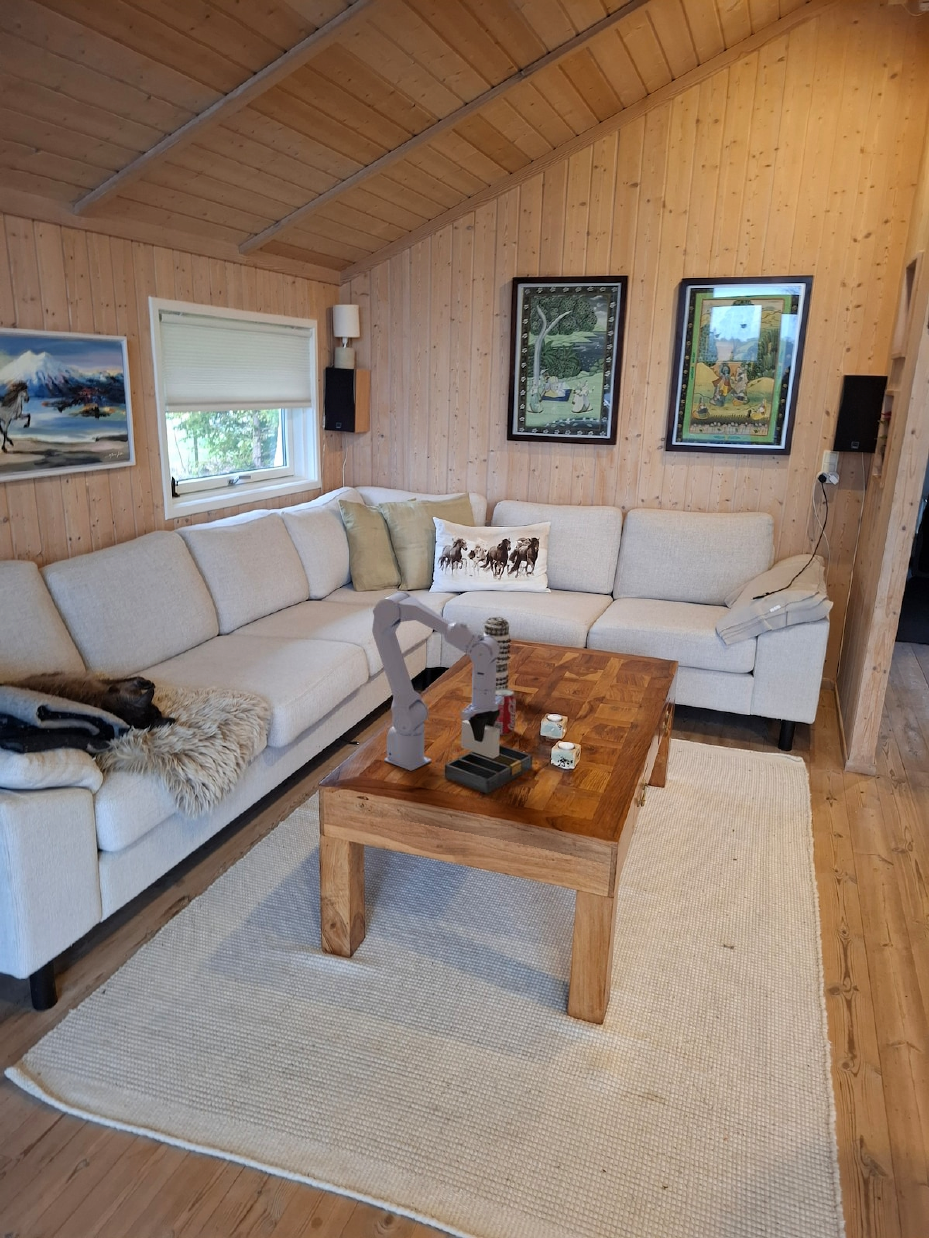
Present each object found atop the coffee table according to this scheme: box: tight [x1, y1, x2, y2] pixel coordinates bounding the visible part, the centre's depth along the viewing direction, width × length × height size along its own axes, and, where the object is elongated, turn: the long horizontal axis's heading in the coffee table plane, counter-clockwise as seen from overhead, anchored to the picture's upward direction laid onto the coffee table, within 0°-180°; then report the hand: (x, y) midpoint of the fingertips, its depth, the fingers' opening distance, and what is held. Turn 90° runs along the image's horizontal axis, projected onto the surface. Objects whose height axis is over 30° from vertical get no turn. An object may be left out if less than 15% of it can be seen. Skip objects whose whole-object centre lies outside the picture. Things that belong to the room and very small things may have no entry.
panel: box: [460, 719, 501, 759], centre depth 210 cm, size 10×2×7 cm, turn 51°
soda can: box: [493, 688, 517, 736], centre depth 238 cm, size 7×7×12 cm
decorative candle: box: [483, 616, 512, 689], centre depth 265 cm, size 9×9×25 cm
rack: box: [444, 743, 534, 795], centre depth 214 cm, size 13×19×4 cm
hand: (482, 738), depth 210 cm, fingers closed on panel, 2 cm apart
